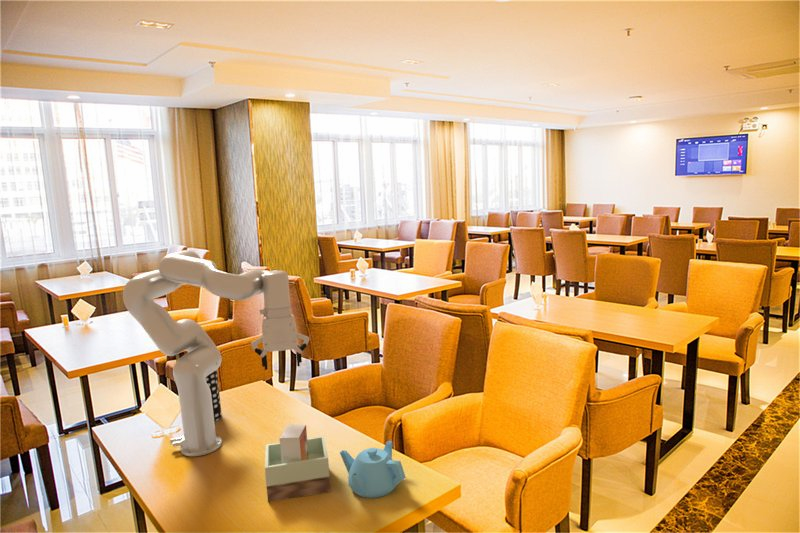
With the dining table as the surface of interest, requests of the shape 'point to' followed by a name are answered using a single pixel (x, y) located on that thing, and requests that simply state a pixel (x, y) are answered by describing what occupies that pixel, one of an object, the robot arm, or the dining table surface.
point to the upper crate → (296, 464)
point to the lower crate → (298, 489)
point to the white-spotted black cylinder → (214, 394)
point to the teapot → (373, 471)
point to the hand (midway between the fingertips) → (282, 366)
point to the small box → (294, 444)
